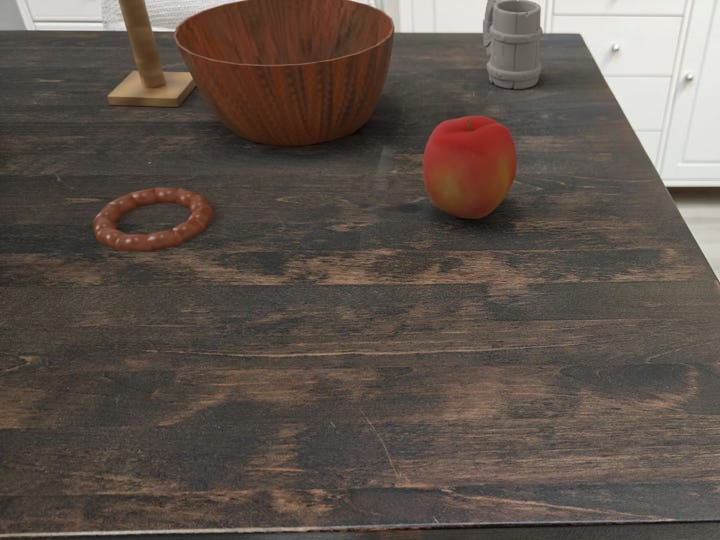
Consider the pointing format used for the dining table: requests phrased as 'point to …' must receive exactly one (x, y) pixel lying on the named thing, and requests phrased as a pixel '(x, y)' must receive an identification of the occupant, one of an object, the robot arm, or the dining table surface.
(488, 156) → the apple
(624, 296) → the dining table surface
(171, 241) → the ring
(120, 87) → the post
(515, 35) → the mug
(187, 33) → the bowl
